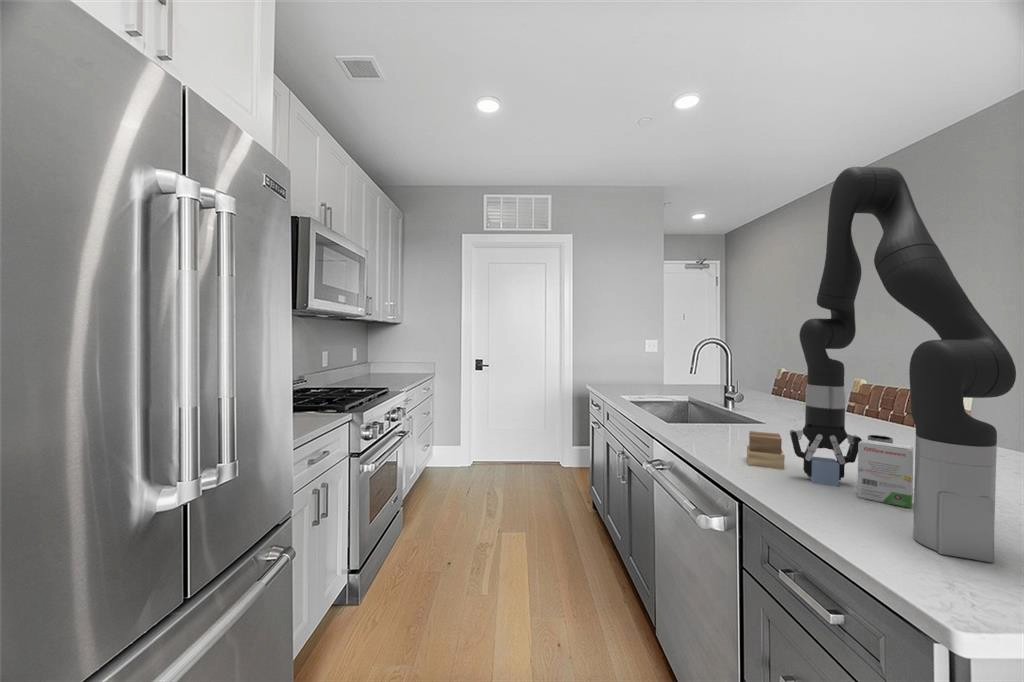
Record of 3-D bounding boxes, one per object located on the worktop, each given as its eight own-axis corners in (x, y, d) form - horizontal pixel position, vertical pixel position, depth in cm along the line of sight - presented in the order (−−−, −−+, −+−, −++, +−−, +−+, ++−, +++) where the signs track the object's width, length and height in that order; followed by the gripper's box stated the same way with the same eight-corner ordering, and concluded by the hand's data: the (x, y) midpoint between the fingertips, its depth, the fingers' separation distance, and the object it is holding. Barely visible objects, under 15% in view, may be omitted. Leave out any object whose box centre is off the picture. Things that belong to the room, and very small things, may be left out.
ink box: (913, 502, 90) (914, 445, 90) (911, 509, 87) (912, 449, 87) (860, 491, 97) (861, 437, 96) (856, 497, 93) (857, 441, 93)
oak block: (784, 470, 112) (784, 455, 112) (748, 466, 116) (748, 451, 116) (780, 462, 119) (780, 447, 119) (746, 459, 123) (747, 444, 123)
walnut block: (781, 454, 113) (781, 438, 112) (750, 451, 116) (750, 435, 116) (778, 448, 119) (779, 433, 119) (749, 445, 122) (749, 430, 122)
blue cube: (838, 486, 100) (839, 464, 100) (812, 483, 102) (812, 461, 102) (833, 479, 105) (834, 458, 104) (808, 476, 107) (808, 456, 107)
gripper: (791, 404, 103) (789, 477, 103) (868, 409, 97) (866, 487, 97) (786, 400, 110) (785, 468, 110) (858, 404, 103) (856, 477, 104)
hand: (823, 477), depth 103 cm, fingers closed on blue cube, 5 cm apart
